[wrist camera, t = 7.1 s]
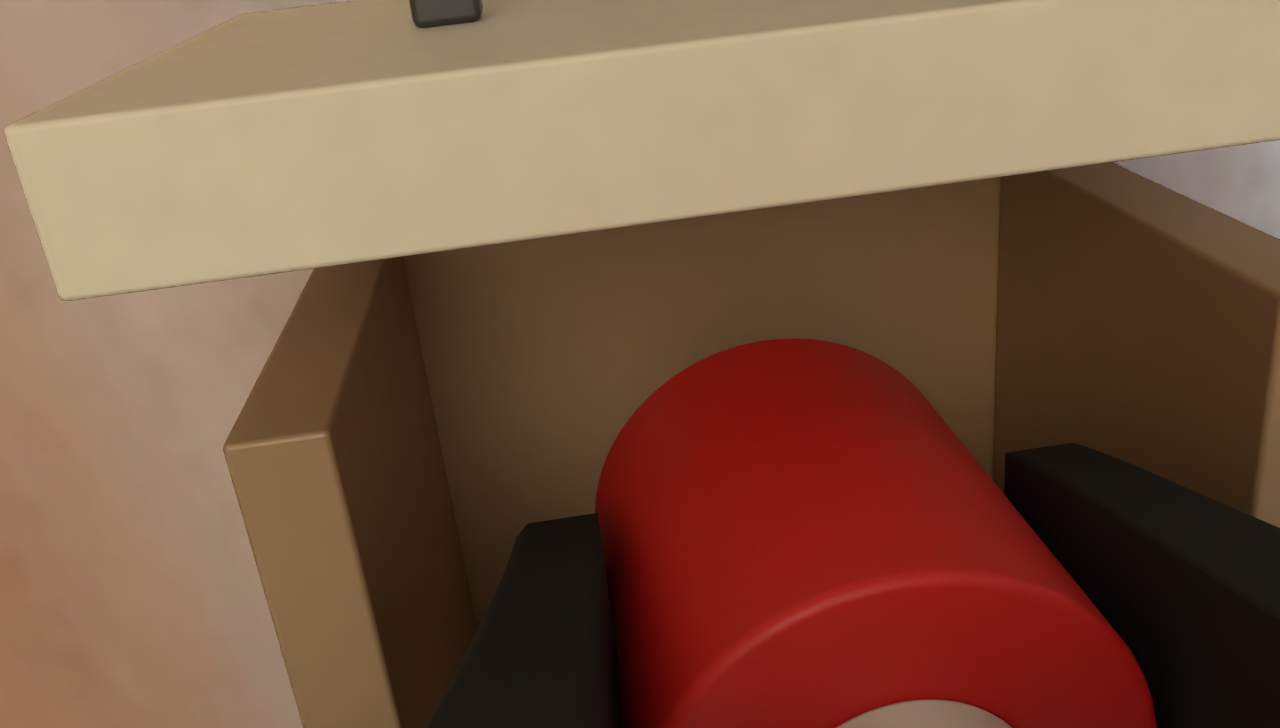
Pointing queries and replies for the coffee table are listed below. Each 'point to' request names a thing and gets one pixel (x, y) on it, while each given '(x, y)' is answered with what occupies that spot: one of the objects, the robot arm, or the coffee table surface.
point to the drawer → (663, 257)
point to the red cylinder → (836, 563)
